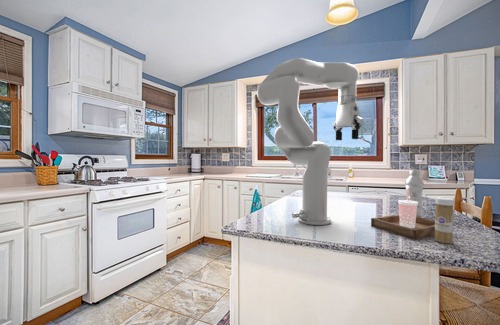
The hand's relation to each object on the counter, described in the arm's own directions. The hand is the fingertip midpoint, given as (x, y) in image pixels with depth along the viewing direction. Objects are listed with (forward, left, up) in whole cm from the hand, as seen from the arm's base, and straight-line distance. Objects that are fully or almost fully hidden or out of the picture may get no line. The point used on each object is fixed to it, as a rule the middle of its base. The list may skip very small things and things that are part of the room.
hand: (346, 139), depth 114 cm
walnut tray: (+2, -28, -33) cm, 44 cm away
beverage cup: (+2, -28, -32) cm, 43 cm away
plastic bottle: (+20, -18, -34) cm, 43 cm away
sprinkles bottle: (0, -41, -34) cm, 53 cm away
